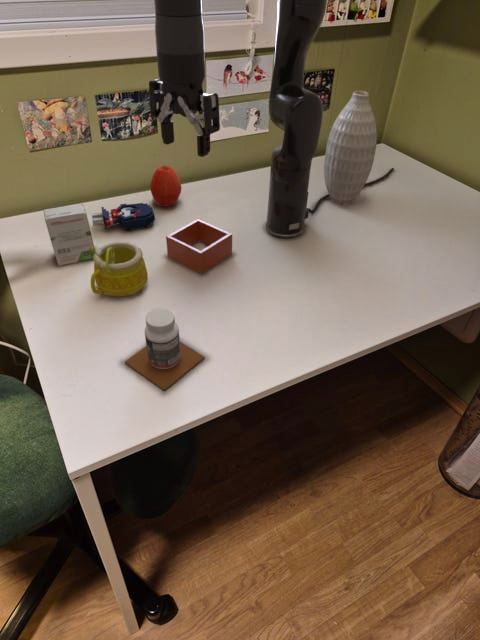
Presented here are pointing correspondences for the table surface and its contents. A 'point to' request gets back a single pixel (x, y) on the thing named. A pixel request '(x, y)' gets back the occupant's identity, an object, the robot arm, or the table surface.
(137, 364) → the cork pad
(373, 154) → the vase
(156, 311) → the pill bottle
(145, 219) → the figurine
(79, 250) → the ink box
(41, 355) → the table surface
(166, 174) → the red egg-shaped piece
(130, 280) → the mug
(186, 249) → the planter
